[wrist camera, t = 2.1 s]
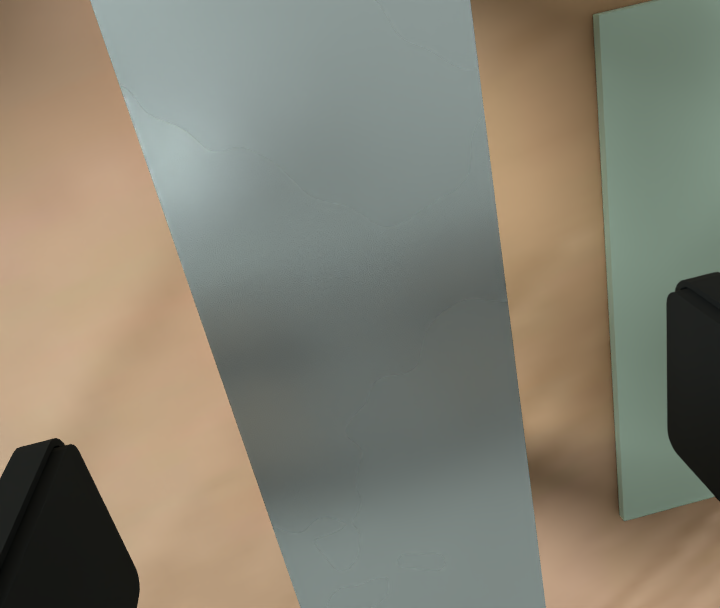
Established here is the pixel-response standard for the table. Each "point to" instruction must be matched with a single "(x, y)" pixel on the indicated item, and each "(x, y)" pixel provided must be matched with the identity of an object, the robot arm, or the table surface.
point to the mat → (655, 218)
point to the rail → (346, 282)
